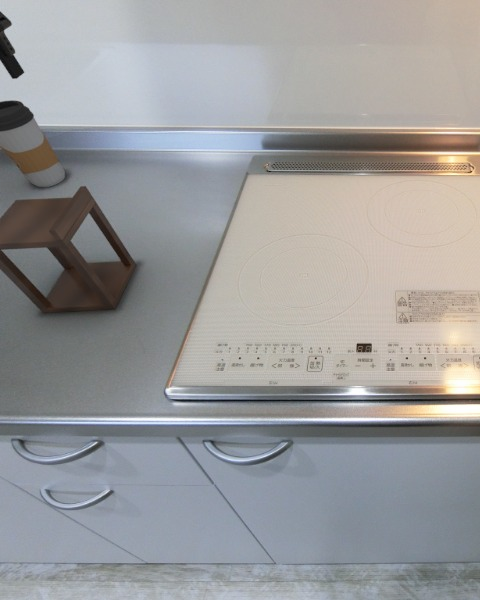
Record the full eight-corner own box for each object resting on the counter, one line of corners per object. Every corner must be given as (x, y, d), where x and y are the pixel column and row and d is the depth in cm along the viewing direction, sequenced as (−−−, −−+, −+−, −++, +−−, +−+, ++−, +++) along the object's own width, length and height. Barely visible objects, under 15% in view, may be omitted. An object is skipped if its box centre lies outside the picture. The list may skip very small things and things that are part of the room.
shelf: (43, 313, 68) (-34, 234, 56) (70, 268, 74) (7, 189, 62) (115, 309, 68) (54, 230, 56) (136, 264, 75) (86, 185, 63)
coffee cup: (21, 180, 92) (-32, 109, 81) (63, 164, 96) (17, 95, 85) (35, 195, 88) (-19, 124, 77) (78, 178, 92) (32, 108, 81)
